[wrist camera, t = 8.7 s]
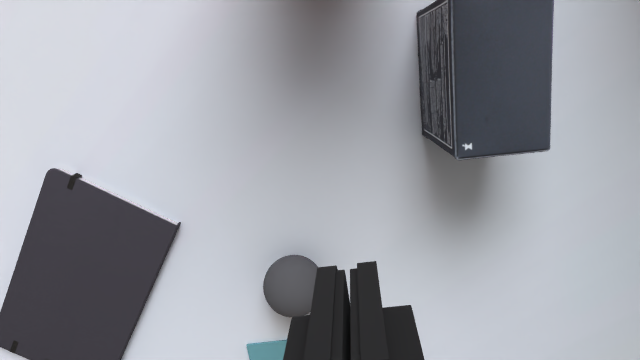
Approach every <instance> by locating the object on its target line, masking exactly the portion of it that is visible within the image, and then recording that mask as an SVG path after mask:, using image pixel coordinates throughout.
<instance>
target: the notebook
mask: <svg viewBox="0 0 640 360" xmlns="http://www.w3.org/2000/svg"><path fill="white" fill-rule="evenodd" d="M81 176H82V175H80V174H78V173H76V174H72V173H70V172H68V171H66V170H63V169H56V168H54V169H50V170H48V172H47V173H46V176H45V179H44V182H43V185H42V188H41V191H40V194H39V197H38V200H37V203H36V206H35V209H34V212H33V215H32V218H31V221H30V224H29V227H28V230H27V233H26V236H25V239H24V242H23V245H22V248H21V251H20V254H19V258H18V261H17V264H16V267H15V270H14V273H13V276H12V279H11V282H10V285H9V288H8V291H7V294H6V297H5V300H4V303H3V306H2V309H1V312H0V347H2V348H4V349H6V350H9V351H10V352H12V353H16V354H18V355H20V356H22V357H25V358H27V359H29V360H121V358H122V355H123V353H124V351H125V349H126V346H127V344H128V342H129V339H130V337H131V335H132V333H133V330H134V328H135V326H136V323H137V321H138V319H139V317H140V314H141V312H142V310H143V308H144V305H145V303H146V301H147V298H148V296H149V294H150V292H151V289H152V287H153V285H154V282H155V280H156V278H157V276H158V273H159V271H160V269H161V266H162V264H163V262H164V260H165V257H166V255H167V253H168V251H169V248H170V246H171V244H172V241H173V239H174V237H175V235H176V232H177V230H178V228H179V225H180V223H181V222H179V223H176V222H174V221H172V220H170V219H168V218H166V217H164V216H161V215H159V214H157V213H155V212H153V211H151V210H149V209H147V208H144V207H142V206H140V205H138V204H136V203H134V202H132V201H130V200H128V199H125V198H123V197H121V196H119V195H117V194H115V193H113V192H111V191H108V190H106V189H104V188H102V187H100V186H98V185H96V184H94V183H91V182H89V181H87V180H85V179H83V178H81Z"/></svg>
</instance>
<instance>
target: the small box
mask: <svg viewBox="0 0 640 360" xmlns="http://www.w3.org/2000/svg"><path fill="white" fill-rule="evenodd" d="M553 11H554V0H436V1H435V2H434V3H432V4H431V5H429V6H428V7H426V8H424V9H422V10H420V11H418V12H417V30H418V52H419V53H418V56H419V74H420V96H421V116H422V135H424V136H425V137H426V138H429V139H430V140H432V141H433V142H435V143H436V144H437V145H439V146H440V147H441V148H443V149H444V150H445V151H447V152H449V153H450V154H451V155H453V156H454V157H455V158H456V159H457V160H465V159H474V158H484V157H495V156H503V155H514V154H523V153H534V152H543V151H548V150H549V149H550V127H551V81H552V44H553Z"/></svg>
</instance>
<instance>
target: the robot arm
mask: <svg viewBox="0 0 640 360" xmlns="http://www.w3.org/2000/svg"><path fill="white" fill-rule="evenodd" d="M283 360H424V356H423V352H422V348H421V344H420V340H419V336H418V332H417V328H416V323H415V319H414V315H413V311H412V308H411V305H406V306H396V307H386V308H382V302H381V294H380V287H379V279H378V272H377V264H376V261H374V262H364V263H357V269H350V301H349V294H348V288H347V282H346V275H345V270H338V269H337V266H328V267H319V268H317V272H316V279H315V285H314V292H313V299H312V306H311V313H310V315H304V316H294V317H292V320H291V324H290V329H289V333H288V338H287V343H286V347H285V352H284V357H283Z"/></svg>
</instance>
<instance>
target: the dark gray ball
mask: <svg viewBox="0 0 640 360" xmlns="http://www.w3.org/2000/svg"><path fill="white" fill-rule="evenodd" d="M317 268H318V267H317V265H316V264H315V263H314V262H313V261H311V260H310V259H308V258H306V257H303V256H299V255H289V256H285V257H282V258H280V259H279V260H277V261H276V262H274V263H273V264H272V265H271V267H270V268H269V269H268V271H267V273H266V275H265V278H264V285H263V289H264V295H265V298H266V300H267V302H268V304H269V305H270V307H271V308H272V309H273V310H274V311H276V312H277V313H279V314H281V315H283V316H286V317H294V316H304V315H306V314H308V313H310V312H311V306H312V299H313V292H314V285H315V279H316V272H317Z"/></svg>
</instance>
